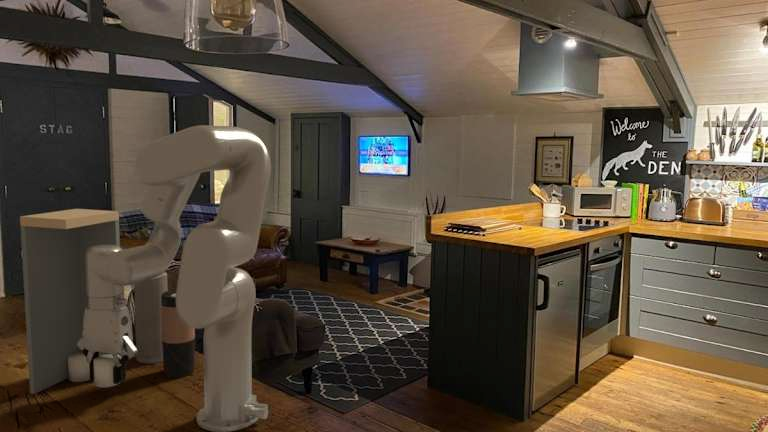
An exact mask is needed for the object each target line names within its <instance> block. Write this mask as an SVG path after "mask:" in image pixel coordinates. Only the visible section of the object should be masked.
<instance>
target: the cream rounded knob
mask: <svg viewBox="0 0 768 432" xmlns="http://www.w3.org/2000/svg"><path fill="white" fill-rule="evenodd" d="M86 359H87V358H86V356H85V355H84V354H83V352H82V351H81V352H76V353H73V354H70V355H69V356H68V374H69V377H68V381H70V382H72V383H79V382H80V383H81V382H82V383H83V382H87V381H89V380H90V368H89V363H88V362H87V360H86ZM90 381H91V380H90Z"/></svg>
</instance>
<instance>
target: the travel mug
mask: <svg viewBox="0 0 768 432" xmlns="http://www.w3.org/2000/svg"><path fill="white" fill-rule="evenodd" d="M161 307H162V348H163V361H162V363H163V373H164V376H166V377H168V378H184V377H187V376H190V375H193V373H195V366H196V365H195V363H196V362H195V361H196V360H195V357H196V356H195V354H196V331H195V330H196V328H192V327H189V326H188V325H186V324H185V323H184V322H183V321H182V320H181V318H180V317H179V315H178V312H177V309H176V291H175V292H171V291H166V292H164V293H162V295H161Z"/></svg>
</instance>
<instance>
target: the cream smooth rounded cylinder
mask: <svg viewBox="0 0 768 432" xmlns="http://www.w3.org/2000/svg"><path fill="white" fill-rule="evenodd" d="M119 357H120V359H121V356H120V355H119ZM93 361H94V380H93V385H94V386H95V387H98V388H110V387H115V386H118V385H119V384H121V383H122V382H120V383H118V384H114V381H113V367H115V366H116V365H115V362H114V359H113V356H112V354H106V355H101V356H98V357H96V358H95V359H94V360H93Z"/></svg>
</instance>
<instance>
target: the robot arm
mask: <svg viewBox="0 0 768 432" xmlns="http://www.w3.org/2000/svg"><path fill="white" fill-rule="evenodd" d="M134 158H135V159H134V163H133V170H134V173H135V175H136V178H137V179H138V180H139V181H140V182H141V183H142V184H144V185H146V186H145V188H144V189H143V192H142V194H141V196H140V199H139V201H138V205H137V206H138V209H139V211H140V213H141V214H143V216H145V217H146V218H147V219H148V220H150V221H152V222H153V223H154V228H153V230H152V232H151V235H150V237H149V238H148V241H147V242H146V244H143V245H140V246H134V247H130V248H126V249H122V247H119V246H116V245H97V246H93V247H90V248H88V249H87V251H86V254H85V262H86V294H87V307H86V308H85V312H84V318H83V330H82V338H81V339H80V340H79V342H78V343H77V346H78V347H79V348H80V349H81V350H82V352H83V354H84V355H85V356H86V358H87V359H86V360H87V362H88V363H89V368H90V381H94V361H93V360H94V359H95V358H96V357H98V356H100V354H101V353H108V354H112V356H113V359H114V362H115V365H116V366H115V367H113V381H114V384H118V383H119V384H121V383H122V382H123V381H125V380H126V378H127V377H126V376H127V369H126V367H127V366H126V364H127V363H129V361H130V360H131V359H132V358H133V357H134V356H135V355H137V352H138V350H137V349H136V345H134V336H133V326H132V319H131V313H130V310H129V307H128V306H126V305H127V304H128V298H125V287H127V286H131V285H134V284H135V283H138V282H141V281H144V280H147V279H151V278H154V277H157V276H159V275H161V274H163V273H164V272H165V273H166V271H167V270H168V269H169V267H170V266H171V264H172V262H173V260H174V258H176V257H175V256H176V254H177V252H178V250H179V248H180V244H181V242H182V241H181V240H182V228H181V227H182V226H181V223H180V217H181V215H182V213H183V210H184V208H185V206H186V205H187V202H188V200H189V198H190V196H191V195H192V192H193V190H194V188H195V186H196V184H197V182H198V180H199V178H200V175H201V174H202V173H207V172H215V171H227V170H228V171H229V172H230V173H229V177H227V178H228V179H227V180H226V182H225V184H224V186H223V188H222V191H221V193H220V198H219V206H218V209H217V210H218V211H217V213H216V218H215V220H213V221H208V222H204V223H201V224H199V225H197V226H196V227H195V228H193V229H192V230H191V231H190V232H189V234H188V235H187V237H186V238H185V241H184V243H183V246H182V247H183V248H182V251H181V259H180V262H179V263H180V264H179V271H178V277H177V278H178V279H177V284H176V291H175V292H176V309H177V312H178V315H179V317H180V318H181V320H182V321H183V322H184V323H185V324H186V325H188V326H189V327H192V328H195V329H204V331H203V341H202V342H203V347H202V348H203V389H204V390H203V391H204V392H203V394H204V396H203V399H204V406H203V408H201V409H200V410H199V411H198V412H197V414H196V423H197V425H198V426H199V427H200V428H202V429H203V430H207V431H210V432H236V431H240V430H242V429H246V428H248V427H250V426H252V425H253V424H255V423H256V422H257V421H258V420H259V419H262V420H263V419H264V420H266V419H267V418H268V416H269V406H268V404H265V403H259V402H258V401H257V395H256V394H253V393H252V391H253V388H252V387H253V384H252V383H253V381H252V379H253V378H252V374H253V372H252V369H253V368H252V342H253V341H252V337H253V336H252V330H253V329H252V328H253V326H252V325H253V316H254V315H253V314H254V310H255V305H256V304H255V303H256V295H257V294H256V286H255V282H254V279H253V278H252V277H251V275H250V274H249V272H247V271H246V270H244V269H242V268H239V267H238V266H241V265H243V264H245V263H247V262H249V261H250V260H251V259H253V258H254V256H255V254H256V252H257V249H258V244H259V238H260V232H261V226H262V222H263V221H262V220H263V217H264V216H263V215H264V208H265V202H266V196H267V192H268V187H269V184H270V179H271V171H272V165H271V164H272V162H271V156H270V152H269V150H268V148H267V146H266V145H265V143H264V142H263V140H262V139H261V138H260V137H259V136H258V135H257V134H255V133H254V132H253V131H250V130H248V129H246V128H242V127H239V126H231V125H227V126H226V125H206V124H205V125H203V124H200V125H195V126H190V127H187V128H185V129H181V130H179V131H176V132H173V133H171V134H168V135H165V136H163V137H160V138H157V139H154V140H152V141H149V142H148V143H146V144H144V145H143V146H142V147H141V148H140V149H139V151H137V154H136V156H135V157H134ZM119 354H120V356H121V359H120V357H119ZM120 382H121V383H120ZM119 384H118V385H119Z"/></svg>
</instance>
